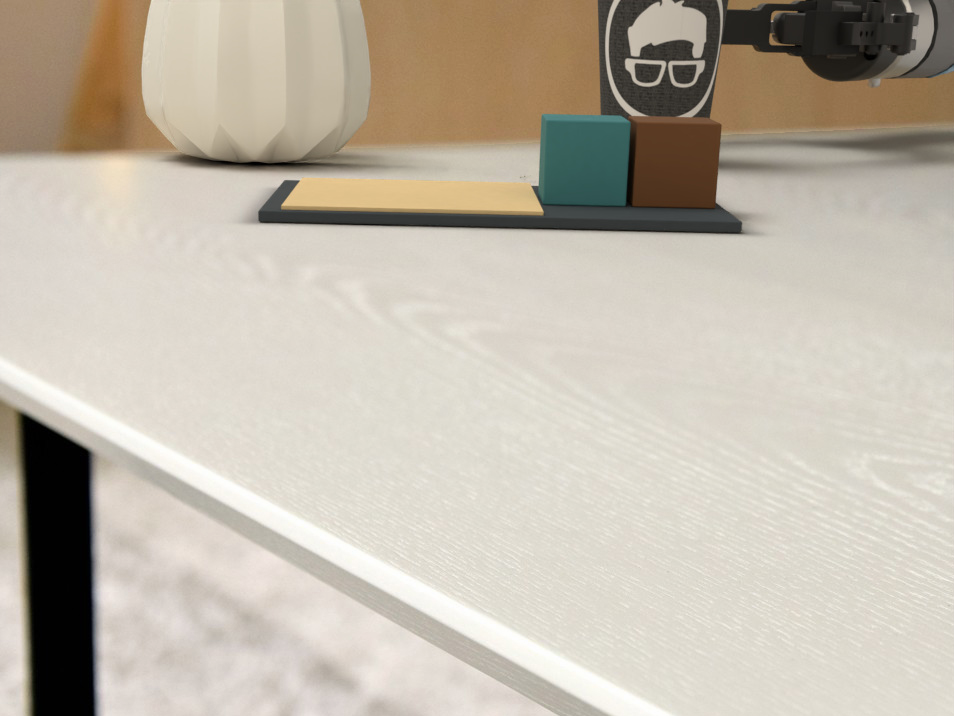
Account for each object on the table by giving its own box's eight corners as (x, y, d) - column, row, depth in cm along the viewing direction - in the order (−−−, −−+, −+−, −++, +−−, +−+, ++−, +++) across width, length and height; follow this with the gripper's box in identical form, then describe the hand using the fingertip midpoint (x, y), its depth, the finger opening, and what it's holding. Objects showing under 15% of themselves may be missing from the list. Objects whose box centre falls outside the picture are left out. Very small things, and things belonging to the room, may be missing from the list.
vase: (289, 176, 93) (288, -75, 89) (100, 159, 99) (91, -75, 95) (411, 158, 104) (415, -65, 100) (234, 144, 111) (231, -66, 106)
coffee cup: (755, 164, 106) (776, -83, 101) (669, 173, 99) (688, -91, 94) (636, 152, 112) (650, -81, 107) (547, 159, 105) (559, -89, 101)
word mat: (698, 198, 86) (704, 111, 85) (741, 232, 74) (749, 131, 73) (284, 189, 87) (283, 102, 85) (258, 221, 74) (257, 120, 73)
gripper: (1017, 89, 117) (885, 98, 101) (715, 72, 132) (560, 79, 117) (1032, -22, 114) (899, -29, 99) (722, -25, 130) (565, -32, 114)
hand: (715, 29), depth 108 cm, fingers open, 13 cm apart
